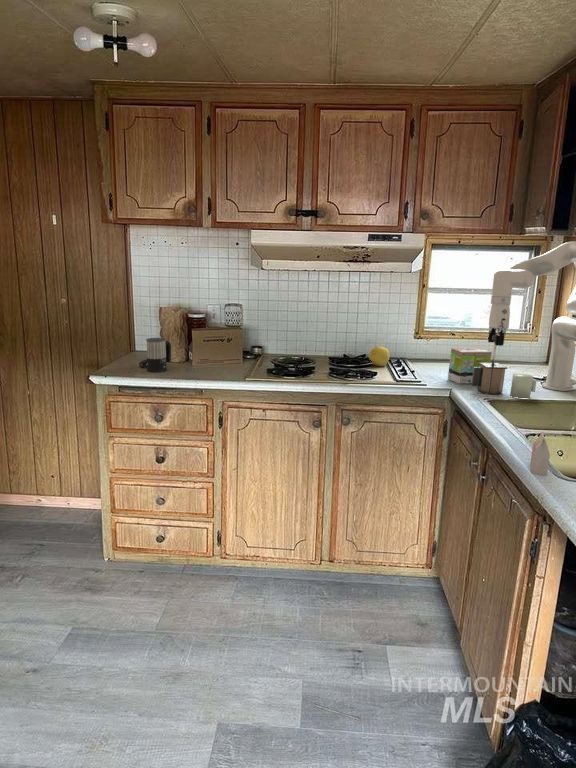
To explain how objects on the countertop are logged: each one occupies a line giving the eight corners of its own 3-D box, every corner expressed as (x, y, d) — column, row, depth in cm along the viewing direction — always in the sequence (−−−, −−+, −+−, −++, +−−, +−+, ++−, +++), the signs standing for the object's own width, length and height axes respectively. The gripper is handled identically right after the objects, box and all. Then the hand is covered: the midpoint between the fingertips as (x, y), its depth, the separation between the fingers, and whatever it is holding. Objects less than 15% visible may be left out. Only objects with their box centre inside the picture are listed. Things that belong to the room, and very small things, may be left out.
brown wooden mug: (496, 389, 229) (500, 362, 226) (506, 395, 219) (509, 367, 217) (467, 388, 229) (470, 362, 226) (475, 394, 219) (478, 367, 216)
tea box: (459, 384, 236) (463, 352, 232) (447, 379, 245) (450, 348, 242) (488, 383, 240) (492, 351, 236) (474, 378, 249) (478, 347, 246)
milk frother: (162, 373, 242) (161, 341, 238) (130, 371, 244) (128, 339, 241) (173, 366, 256) (173, 336, 252) (143, 364, 258) (141, 334, 254)
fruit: (392, 365, 272) (393, 346, 270) (382, 368, 264) (383, 349, 262) (374, 362, 279) (376, 343, 276) (364, 365, 270) (365, 346, 268)
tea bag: (544, 466, 145) (550, 432, 142) (546, 476, 139) (552, 440, 136) (530, 464, 146) (535, 430, 144) (531, 473, 140) (536, 438, 137)
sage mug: (528, 394, 221) (531, 373, 219) (537, 399, 214) (540, 378, 212) (507, 394, 221) (509, 373, 219) (514, 399, 214) (517, 377, 212)
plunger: (496, 370, 225) (501, 333, 221) (502, 374, 219) (507, 335, 215) (481, 370, 225) (486, 333, 221) (487, 373, 219) (491, 335, 215)
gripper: (519, 303, 206) (513, 347, 211) (501, 299, 223) (496, 340, 228) (500, 302, 206) (494, 347, 211) (483, 298, 223) (479, 340, 228)
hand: (495, 343), depth 219 cm, fingers open, 7 cm apart
